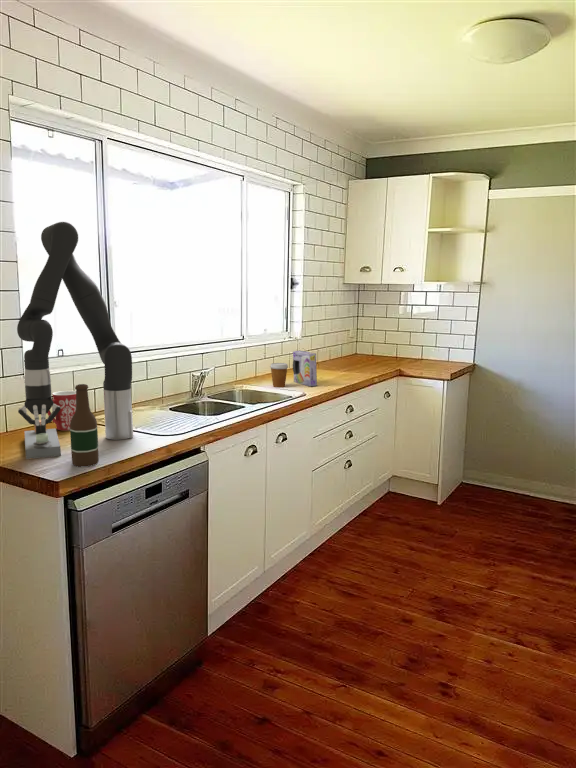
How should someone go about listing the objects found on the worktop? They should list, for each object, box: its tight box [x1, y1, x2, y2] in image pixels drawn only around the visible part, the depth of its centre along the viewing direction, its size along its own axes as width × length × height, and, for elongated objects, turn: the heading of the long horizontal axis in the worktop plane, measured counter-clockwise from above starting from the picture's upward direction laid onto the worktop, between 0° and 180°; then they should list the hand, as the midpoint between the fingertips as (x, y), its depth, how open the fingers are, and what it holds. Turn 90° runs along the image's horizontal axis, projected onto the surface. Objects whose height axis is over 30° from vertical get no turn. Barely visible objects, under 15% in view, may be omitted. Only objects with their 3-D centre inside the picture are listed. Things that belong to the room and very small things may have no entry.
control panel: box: [24, 428, 62, 460], centre depth 194 cm, size 10×26×3 cm, turn 24°
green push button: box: [36, 433, 49, 442], centre depth 184 cm, size 4×4×2 cm
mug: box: [47, 390, 76, 431], centre depth 217 cm, size 13×9×14 cm
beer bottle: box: [69, 383, 100, 468], centre depth 175 cm, size 8×8×24 cm
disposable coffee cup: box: [269, 362, 289, 388], centre depth 311 cm, size 10×10×12 cm
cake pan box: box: [292, 350, 318, 387], centre depth 318 cm, size 19×5×18 cm, turn 28°
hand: (41, 436), depth 188 cm, fingers closed
